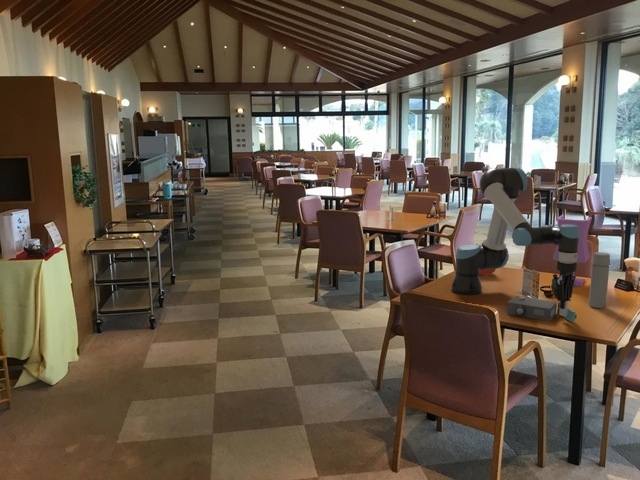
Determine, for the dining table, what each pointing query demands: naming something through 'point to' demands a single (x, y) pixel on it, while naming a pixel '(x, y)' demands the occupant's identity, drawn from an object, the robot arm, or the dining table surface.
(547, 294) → the binoculars
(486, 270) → the french fries container
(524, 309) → the block
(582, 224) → the purple table lamp
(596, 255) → the water bottle
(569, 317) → the side door
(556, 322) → the dining table surface
